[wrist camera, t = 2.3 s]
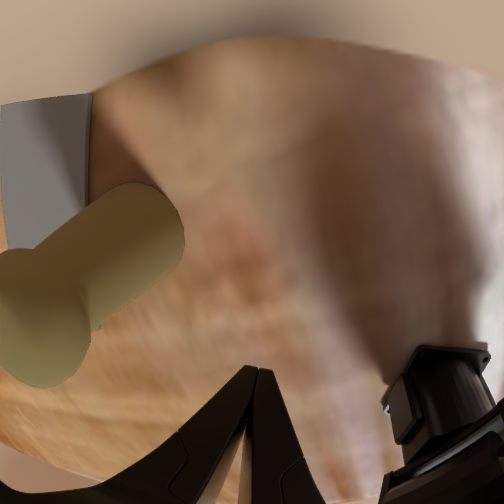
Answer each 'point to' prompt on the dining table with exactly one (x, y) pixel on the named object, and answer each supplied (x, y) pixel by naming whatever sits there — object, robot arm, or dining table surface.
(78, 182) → the mat
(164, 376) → the dining table surface
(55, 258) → the cork
